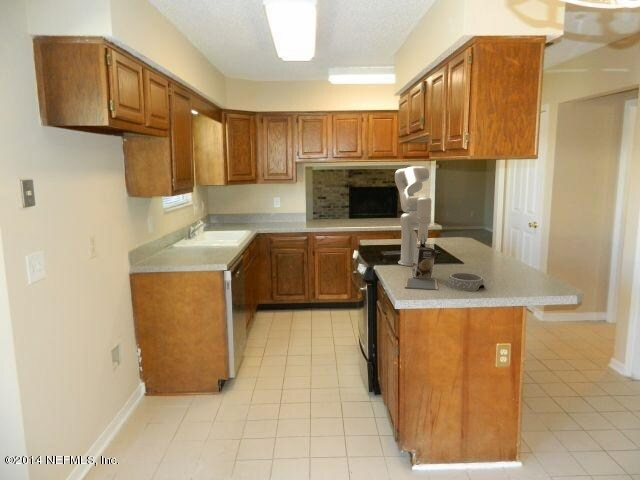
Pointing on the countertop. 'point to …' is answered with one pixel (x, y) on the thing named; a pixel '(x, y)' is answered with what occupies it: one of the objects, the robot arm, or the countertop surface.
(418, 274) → the coffee box
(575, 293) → the countertop surface
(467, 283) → the dog bowl
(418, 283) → the mat
